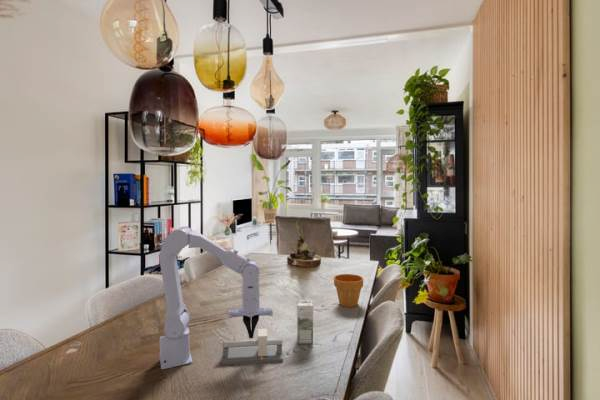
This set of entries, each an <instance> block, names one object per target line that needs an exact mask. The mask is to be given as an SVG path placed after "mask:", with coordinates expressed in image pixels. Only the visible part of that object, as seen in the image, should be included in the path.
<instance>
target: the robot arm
mask: <svg viewBox="0 0 600 400" xmlns="http://www.w3.org/2000/svg"><path fill="white" fill-rule="evenodd" d="M187 246H188V247H187ZM186 247H187V248H188V249H193V248H195V249H197V248H198V249H202V250H203V251H205V252H207V253H209V254H211V255H213V256H215V257H217V258H219V259H220V261H221V265H223V266H225V267H227V268H228V269H230V270H232V271H233V272H235V273H237V274H240V275H241V277H242V285H241V288H242V289H241V290H242V291H241V292H242V294H241V295H242V296H241V297H242V298H241V299H242V301H241V303H242V304H241V305H242V306H241V307H242V308H236V309H229V312H228V318H231V319H232V318H236V317H237V318H238V317H242V322H243V324H244V326H245V328H246V331H247V334H248V339H254V335H255V334H254V333H255V330H256V328H257V327H256V326H257V324H258V323H259V319H260V317H261V316H262V317H264V316H269V317H273V314H274V313H273V312H274V311H273V308H269V307H268V308H267V307H260V278H259V276H260V265H259V263H258V262H257V261H255V259H251V258H250V257H246V256H244V255H242V254H240V253H239V250H237V249H236V248H235V249H234V250H233V249H232V248H231V249H225V248H224V247H222V246H220V245H218V244H217V243H216V242H214V241H213V240H211V239H210V238H208V237H206V236H205V235H203V234H202V233H200V232H198V231H197V230H195V229H192V228H191V227H189V226H180V227H179V228H177V229H174V230H172V231H171V232H170V233H169V234H167V236H166V237H165V239H164V242H163V244H162V246H161V248H160V251H159V254H158V257H159V258H158V259H159V263H160V264H159V265H160V270H161V271H160V272H161V279H162V283H163V291H164V297H165V303H166V312H165V317H164V318H165V324H164V326H163V332H164V334H165V335H162V336H160V337H159V354H158V355H159V356H158V359H159V360H158V361H159V362H160V370H167V369H170V368H175V367H178V366H183V365H188V364H192V363H193V358H192V356H191V350H190V348H191V345H190V344H191V343H190V342H191V341H190V340H191V339H190V338H191V336H190V329H189V326H188V325H189V324H190V322H191V314H190V312H189V311H188V309H187V305H186V304H185V302H184V298H183V292H182V285H181V279H180V272H179V266H178V260H177V259H178V258H177V257H178V255H179V254H180V253H181V252H182V251H183V249H185V248H186Z"/></svg>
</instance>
